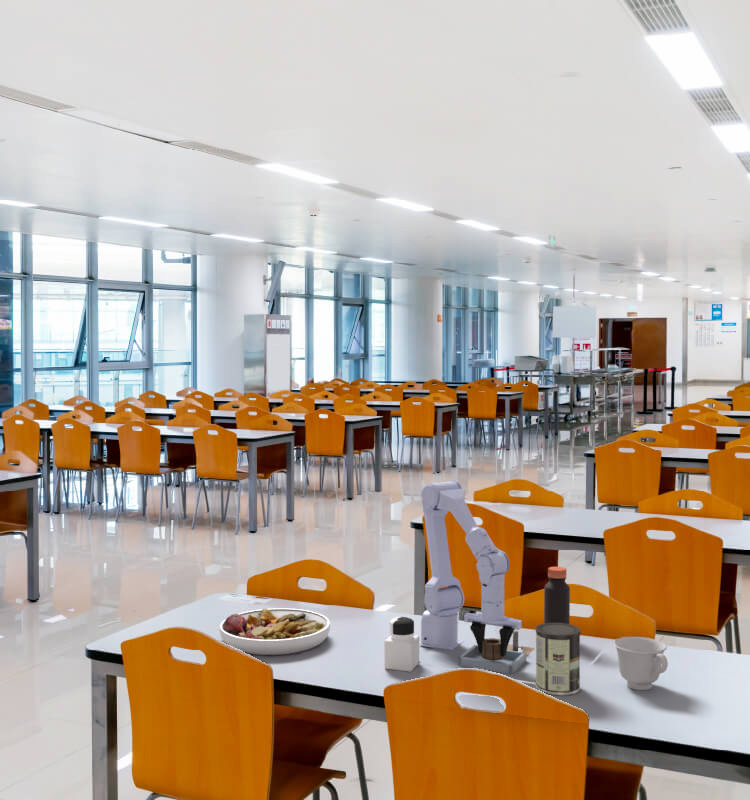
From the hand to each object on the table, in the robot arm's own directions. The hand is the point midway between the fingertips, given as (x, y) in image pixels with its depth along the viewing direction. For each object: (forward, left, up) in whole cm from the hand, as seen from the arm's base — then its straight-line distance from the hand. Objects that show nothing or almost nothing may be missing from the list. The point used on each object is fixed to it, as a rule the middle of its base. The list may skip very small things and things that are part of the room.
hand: (492, 653), depth 230 cm
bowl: (-60, -8, -3) cm, 61 cm away
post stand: (+2, +12, -3) cm, 13 cm away
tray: (0, 0, -3) cm, 3 cm away
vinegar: (+9, +26, -3) cm, 28 cm away
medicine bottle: (-20, -11, -3) cm, 23 cm away
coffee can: (+19, -8, -3) cm, 21 cm away
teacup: (+37, +1, -3) cm, 37 cm away
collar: (0, 0, -1) cm, 1 cm away
